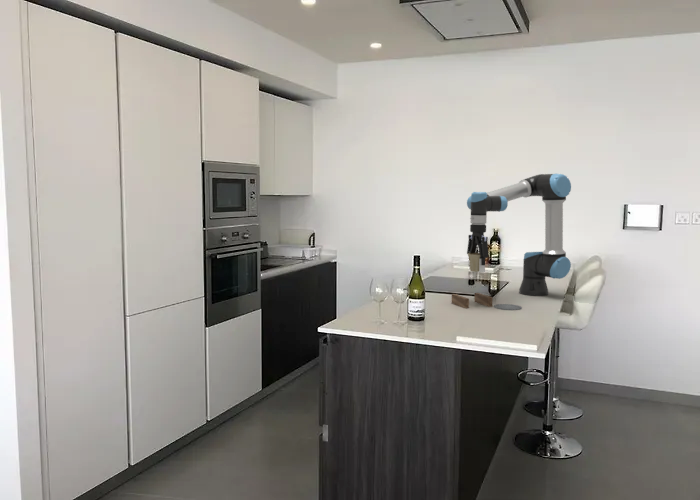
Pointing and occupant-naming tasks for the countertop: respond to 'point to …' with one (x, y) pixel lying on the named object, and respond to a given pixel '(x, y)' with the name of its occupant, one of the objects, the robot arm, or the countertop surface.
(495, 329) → the countertop surface
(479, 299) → the slot holder
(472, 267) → the flower pot
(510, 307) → the disc
